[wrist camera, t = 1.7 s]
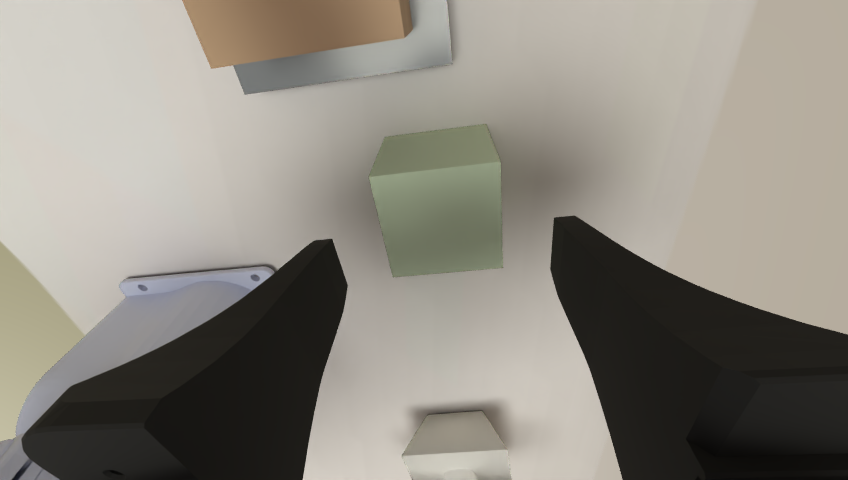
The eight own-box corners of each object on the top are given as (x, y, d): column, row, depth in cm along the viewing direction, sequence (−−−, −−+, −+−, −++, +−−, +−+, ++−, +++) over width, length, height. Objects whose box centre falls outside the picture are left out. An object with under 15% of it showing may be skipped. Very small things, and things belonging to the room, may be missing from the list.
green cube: (402, 221, 18) (392, 277, 15) (385, 136, 16) (368, 176, 12) (489, 212, 18) (502, 267, 14) (485, 123, 16) (500, 161, 12)
